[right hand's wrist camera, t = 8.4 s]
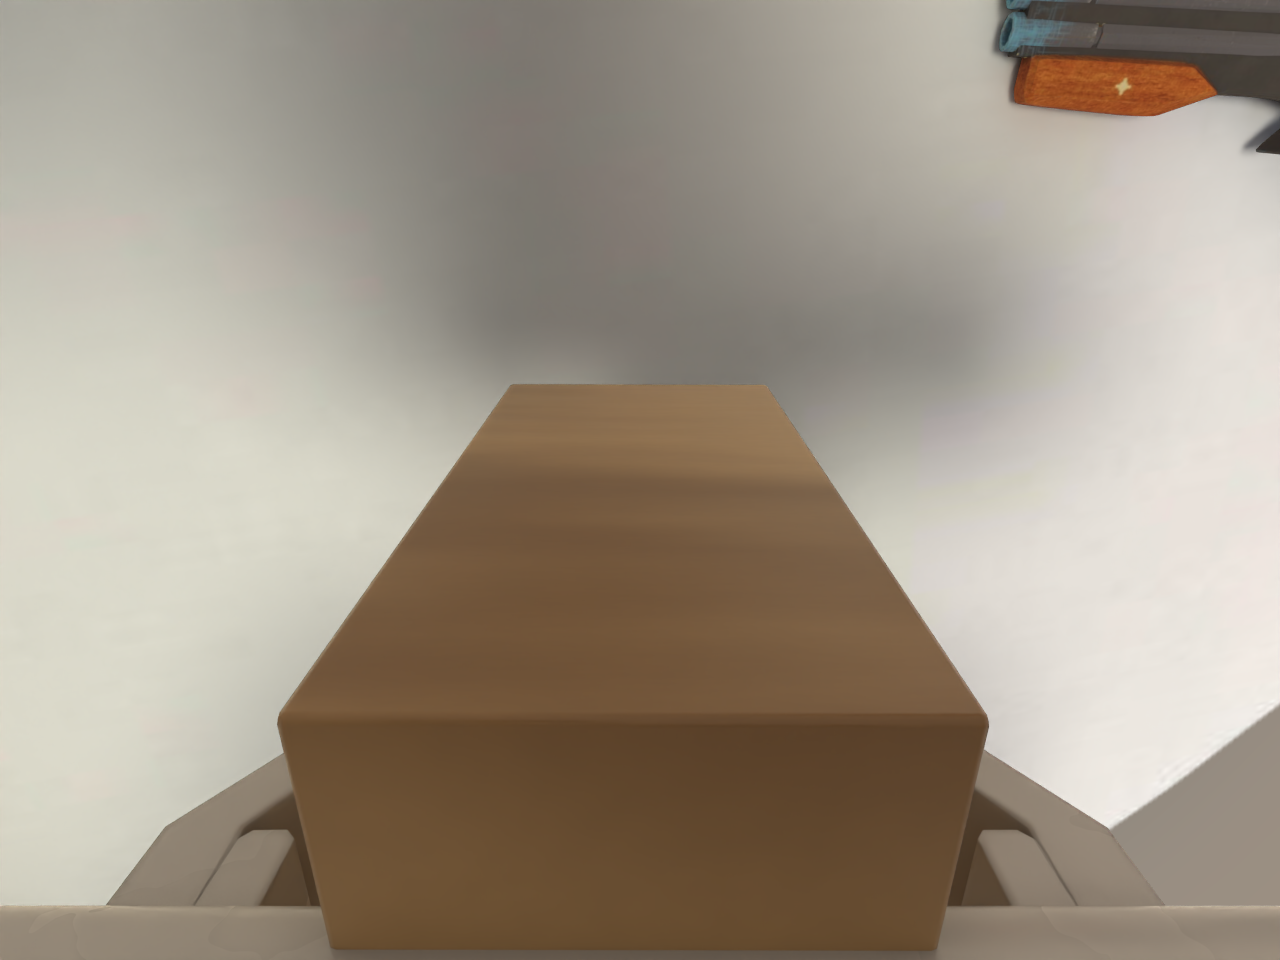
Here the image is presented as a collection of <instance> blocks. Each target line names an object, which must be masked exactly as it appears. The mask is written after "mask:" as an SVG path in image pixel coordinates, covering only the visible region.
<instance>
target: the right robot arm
mask: <svg viewBox="0 0 1280 960" xmlns="http://www.w3.org/2000/svg"><path fill="white" fill-rule="evenodd" d="M0 960H1280V906H1165V905H1164V903H1163V902H1162V901H1161V899H1160V898H1159V897H1158V895H1157V894H1156V893H1155V891H1154V890H1153V888H1152V887H1151V886H1150V884H1149V883H1148V882H1147V880H1146V879H1145V878H1144V876H1143V875H1142V874H1141V872H1140V871H1139V870H1138V868H1137V867H1136V866H1135V864H1134V863H1133V862H1132V860H1131V859H1130V858H1129V856H1128V855H1127V853H1126V852H1125V851H1124V849H1123V848H1122V847H1121V845H1120V844H1119V843H1118V841H1117V840H1116V839H1115V837H1114V836H1113V835H1112V833H1111V832H1110V830H1109V829H1108V828H1107V827H1105V826H1104V825H1102V824H1101V823H1099V822H1097V821H1096V820H1094V819H1093V818H1091V817H1090V816H1088V815H1086V814H1085V813H1083V812H1082V811H1080V810H1078V809H1077V808H1075V807H1074V806H1072V805H1071V804H1069V803H1067V802H1066V801H1064V800H1063V799H1061V798H1059V797H1058V796H1056V795H1055V794H1053V793H1051V792H1050V791H1048V790H1047V789H1045V788H1044V787H1042V786H1040V785H1039V784H1037V783H1036V782H1034V781H1032V780H1031V779H1029V778H1028V777H1026V776H1025V775H1023V774H1021V773H1020V772H1018V771H1017V770H1015V769H1013V768H1012V767H1010V766H1009V765H1007V764H1006V763H1004V762H1002V761H1001V760H999V759H998V758H996V757H994V756H993V755H991V754H990V753H988V752H987V751H985V750H983V754H982V758H981V763H980V767H979V771H978V775H977V780H976V784H975V788H974V792H973V797H972V801H971V805H970V810H969V814H968V818H967V822H966V827H965V831H964V835H963V840H962V844H961V848H960V852H959V857H958V861H957V865H956V870H955V874H954V878H953V882H952V887H951V891H950V895H949V899H948V904H947V908H946V912H945V917H944V921H943V925H942V929H941V934H940V938H939V942H938V947H937V949H935V950H932V951H786V950H336V949H333V948H331V947H330V944H329V940H328V935H327V931H326V927H325V923H324V919H323V914H322V910H321V906H320V902H319V898H318V893H317V889H316V885H315V881H314V877H313V872H312V868H311V864H310V860H309V856H308V852H307V847H306V843H305V839H304V835H303V831H302V826H301V822H300V818H299V814H298V810H297V805H296V801H295V797H294V793H293V789H292V784H291V780H290V776H289V772H288V768H287V763H286V759H285V755H284V753H283V754H281V755H280V756H278V757H277V758H275V759H273V760H272V761H270V762H269V763H267V764H265V765H264V766H262V767H261V768H259V769H257V770H256V771H254V772H253V773H251V774H249V775H248V776H246V777H245V778H243V779H241V780H240V781H238V782H236V783H235V784H233V785H232V786H230V787H228V788H227V789H225V790H224V791H222V792H220V793H219V794H217V795H216V796H214V797H212V798H211V799H209V800H208V801H206V802H204V803H203V804H201V805H200V806H198V807H196V808H195V809H193V810H192V811H190V812H188V813H187V814H185V815H184V816H182V817H180V818H179V819H177V820H175V821H174V822H172V823H171V824H169V825H167V826H166V827H165V828H164V829H163V831H162V832H161V833H160V835H159V836H158V837H157V839H156V840H155V841H154V843H153V844H152V845H151V846H150V848H149V849H148V850H147V852H146V853H145V854H144V856H143V857H142V858H141V860H140V861H139V862H138V864H137V865H136V866H135V868H134V869H133V870H132V871H131V873H130V874H129V875H128V877H127V878H126V879H125V881H124V882H123V883H122V885H121V886H120V887H119V889H118V890H117V891H116V893H115V894H114V895H113V896H112V898H111V899H110V900H109V902H108V903H107V904H106V906H0Z"/></svg>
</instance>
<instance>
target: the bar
mask: <svg viewBox="0 0 1280 960" xmlns="http://www.w3.org/2000/svg"><path fill="white" fill-rule="evenodd" d="M277 726H278V730H279V734H280V738H281V742H282V747H283V751H284V755H285V759H286V763H287V768H288V772H289V776H290V780H291V784H292V789H293V793H294V797H295V801H296V805H297V810H298V814H299V818H300V822H301V826H302V831H303V835H304V839H305V843H306V847H307V852H308V856H309V860H310V864H311V868H312V872H313V877H314V881H315V885H316V889H317V893H318V898H319V902H320V906H321V910H322V914H323V919H324V923H325V927H326V931H327V935H328V940H329V944H330V947H331V948H333V949H336V950H786V951H932V950H935V949H937V947H938V942H939V938H940V934H941V929H942V925H943V921H944V917H945V912H946V908H947V904H948V899H949V895H950V891H951V887H952V882H953V878H954V874H955V870H956V865H957V861H958V857H959V852H960V848H961V844H962V840H963V835H964V831H965V827H966V822H967V818H968V814H969V810H970V805H971V801H972V797H973V792H974V788H975V784H976V780H977V775H978V771H979V767H980V763H981V758H982V754H983V750H984V745H985V741H986V737H987V733H988V728H989V721H988V718H987V715H986V713H985V712H984V710H983V709H982V707H981V706H980V704H979V703H978V701H977V700H976V698H975V697H974V695H973V694H972V692H971V691H970V689H969V688H968V686H967V685H966V683H965V682H964V680H963V679H962V677H961V676H960V674H959V673H958V671H957V670H956V668H955V667H954V665H953V664H952V662H951V661H950V659H949V658H948V656H947V655H946V653H945V652H944V650H943V649H942V647H941V646H940V644H939V643H938V641H937V640H936V638H935V637H934V635H933V634H932V632H931V631H930V629H929V628H928V626H927V625H926V623H925V622H924V620H923V619H922V617H921V616H920V614H919V613H918V611H917V610H916V608H915V607H914V605H913V604H912V602H911V601H910V599H909V598H908V596H907V595H906V593H905V592H904V590H903V589H902V587H901V586H900V584H899V583H898V581H897V580H896V578H895V577H894V575H893V574H892V573H891V571H890V570H889V568H888V567H887V565H886V564H885V562H884V561H883V559H882V558H881V556H880V555H879V553H878V552H877V550H876V549H875V547H874V546H873V544H872V543H871V541H870V540H869V538H868V537H867V535H866V534H865V532H864V531H863V529H862V528H861V526H860V525H859V523H858V522H857V520H856V519H855V517H854V516H853V514H852V513H851V511H850V510H849V508H848V507H847V505H846V504H845V502H844V501H843V499H842V498H841V496H840V495H839V493H838V492H837V490H836V489H835V487H834V486H833V484H832V483H831V481H830V480H829V478H828V477H827V475H826V474H825V472H824V471H823V469H822V468H821V466H820V465H819V463H818V462H817V460H816V459H815V457H814V456H813V454H812V453H811V451H810V450H809V448H808V447H807V445H806V444H805V442H804V441H803V439H802V438H801V436H800V435H799V433H798V432H797V430H796V429H795V427H794V426H793V424H792V423H791V422H790V420H789V419H788V417H787V416H786V414H785V413H784V411H783V410H782V408H781V407H780V405H779V404H778V402H777V401H776V399H775V398H774V396H773V395H772V393H771V392H770V390H769V389H768V387H767V386H766V385H594V384H513V385H510V387H509V388H508V390H507V391H506V392H505V394H504V395H503V397H502V398H501V400H500V401H499V402H498V404H497V405H496V407H495V408H494V409H493V411H492V412H491V414H490V415H489V417H488V418H487V419H486V421H485V422H484V424H483V425H482V426H481V428H480V429H479V431H478V432H477V434H476V435H475V436H474V438H473V439H472V441H471V442H470V443H469V445H468V446H467V448H466V449H465V451H464V452H463V453H462V455H461V456H460V458H459V459H458V460H457V462H456V463H455V465H454V466H453V468H452V469H451V470H450V472H449V473H448V475H447V476H446V478H445V479H444V480H443V482H442V483H441V485H440V486H439V487H438V489H437V490H436V492H435V493H434V495H433V496H432V497H431V499H430V500H429V502H428V503H427V504H426V506H425V507H424V509H423V510H422V512H421V513H420V514H419V516H418V517H417V519H416V520H415V521H414V523H413V524H412V526H411V527H410V529H409V530H408V531H407V533H406V534H405V536H404V537H403V538H402V540H401V541H400V543H399V544H398V546H397V547H396V548H395V550H394V551H393V553H392V554H391V555H390V557H389V558H388V560H387V561H386V563H385V564H384V565H383V567H382V568H381V570H380V571H379V572H378V574H377V575H376V577H375V578H374V580H373V581H372V582H371V584H370V585H369V587H368V588H367V589H366V591H365V592H364V594H363V595H362V597H361V598H360V599H359V601H358V602H357V604H356V605H355V607H354V608H353V609H352V611H351V612H350V614H349V615H348V616H347V618H346V619H345V621H344V622H343V624H342V625H341V626H340V628H339V629H338V631H337V632H336V633H335V635H334V636H333V638H332V639H331V641H330V642H329V643H328V645H327V646H326V648H325V649H324V650H323V652H322V653H321V655H320V656H319V658H318V659H317V660H316V662H315V663H314V665H313V666H312V667H311V669H310V670H309V672H308V673H307V675H306V676H305V677H304V679H303V680H302V682H301V683H300V684H299V686H298V687H297V689H296V690H295V692H294V693H293V694H292V696H291V697H290V699H289V700H288V701H287V703H286V704H285V706H284V707H283V709H282V710H281V711H280V713H279V716H278V722H277Z"/></svg>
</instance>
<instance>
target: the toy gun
mask: <svg viewBox="0 0 1280 960" xmlns="http://www.w3.org/2000/svg"><path fill="white" fill-rule="evenodd" d="M1006 5H1007V8H1008V9H1016V10H1019V12H1012V13H1011V14H1009V15H1008V16H1007V18H1006V20H1005V22H1004V24H1003V27H1002V30H1001V34H1000V39H999V48H1000V51H1003V52H1009V53H1008V57H1022V60H1021V64H1020V68H1019V71H1018V75H1017V79H1016V83H1015V86H1014V99H1015V102H1016V103H1018V104H1024V105H1030V106H1039V107H1048V108H1056V109H1065V110H1075V111H1085V112H1095V113H1105V114H1115V115H1129V116H1156V115H1160V114H1163V113H1166V112H1169V111H1171V110H1174V109H1177V108H1180V107H1183V106H1186V105H1189V104H1192V103H1195V102H1198V101H1201V100H1203V99H1206V98H1209V97H1212V96H1215V95H1228V96H1244V97H1259V98H1265V99H1271V100H1275V101H1279V102H1280V0H1006ZM1256 152H1261V153H1272V154H1280V129H1279V130H1278V131H1277V132H1275V133H1274V134H1273V135H1271V136H1270V137H1269V138H1268V139H1267V140H1266V141H1264V142H1263V143H1262V144H1261V145H1260V146H1259V147H1258V148H1257V149H1256Z"/></svg>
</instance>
